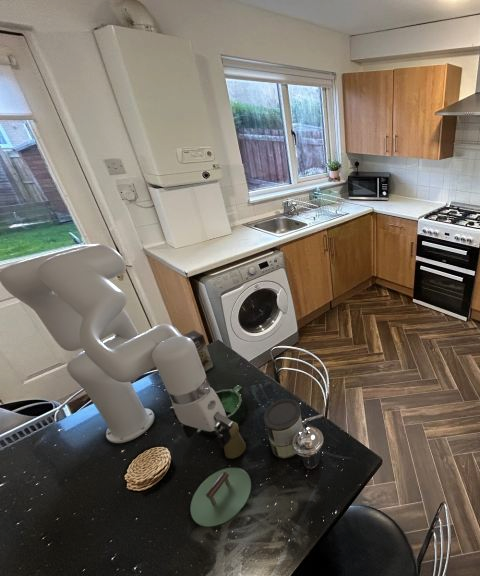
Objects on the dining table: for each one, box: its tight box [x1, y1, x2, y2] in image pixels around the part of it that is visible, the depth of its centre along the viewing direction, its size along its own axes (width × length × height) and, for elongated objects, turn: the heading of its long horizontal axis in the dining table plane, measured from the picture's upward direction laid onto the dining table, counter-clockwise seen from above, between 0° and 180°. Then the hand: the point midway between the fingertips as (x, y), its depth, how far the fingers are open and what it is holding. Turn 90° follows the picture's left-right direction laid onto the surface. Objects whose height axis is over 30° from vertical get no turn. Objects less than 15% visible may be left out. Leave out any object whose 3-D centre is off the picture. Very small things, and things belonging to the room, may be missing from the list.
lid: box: [189, 467, 252, 528], centre depth 81 cm, size 15×15×6 cm
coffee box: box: [183, 329, 214, 372], centre depth 120 cm, size 9×6×16 cm
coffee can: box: [263, 398, 304, 459], centre depth 93 cm, size 10×10×14 cm
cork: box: [219, 421, 247, 459], centre depth 92 cm, size 6×6×11 cm
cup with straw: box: [292, 413, 325, 469], centre depth 87 cm, size 8×9×20 cm
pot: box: [194, 384, 246, 436], centre depth 103 cm, size 14×19×6 cm
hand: (209, 437), depth 77 cm, fingers open, 9 cm apart
